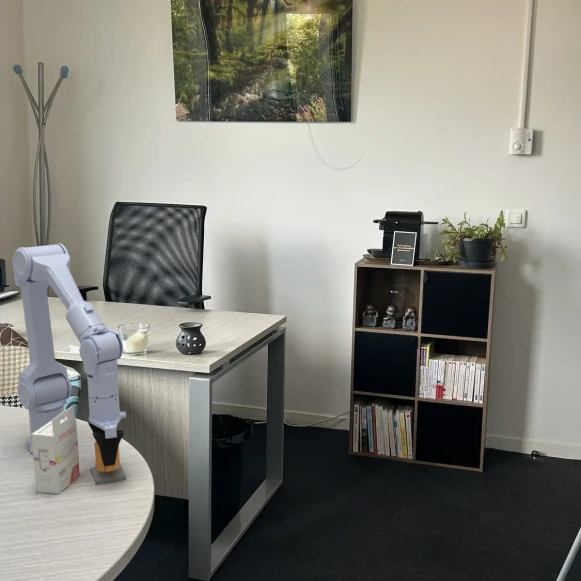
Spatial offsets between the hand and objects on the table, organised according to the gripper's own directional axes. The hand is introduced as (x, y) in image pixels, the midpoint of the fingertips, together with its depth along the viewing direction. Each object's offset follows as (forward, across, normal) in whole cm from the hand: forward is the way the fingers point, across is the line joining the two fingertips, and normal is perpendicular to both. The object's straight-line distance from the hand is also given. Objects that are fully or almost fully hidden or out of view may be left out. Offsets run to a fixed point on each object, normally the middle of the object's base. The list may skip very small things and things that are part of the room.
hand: (107, 460), depth 144 cm
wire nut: (+1, 0, 0) cm, 1 cm away
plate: (+3, 0, 0) cm, 3 cm away
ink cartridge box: (+3, 0, +10) cm, 10 cm away
